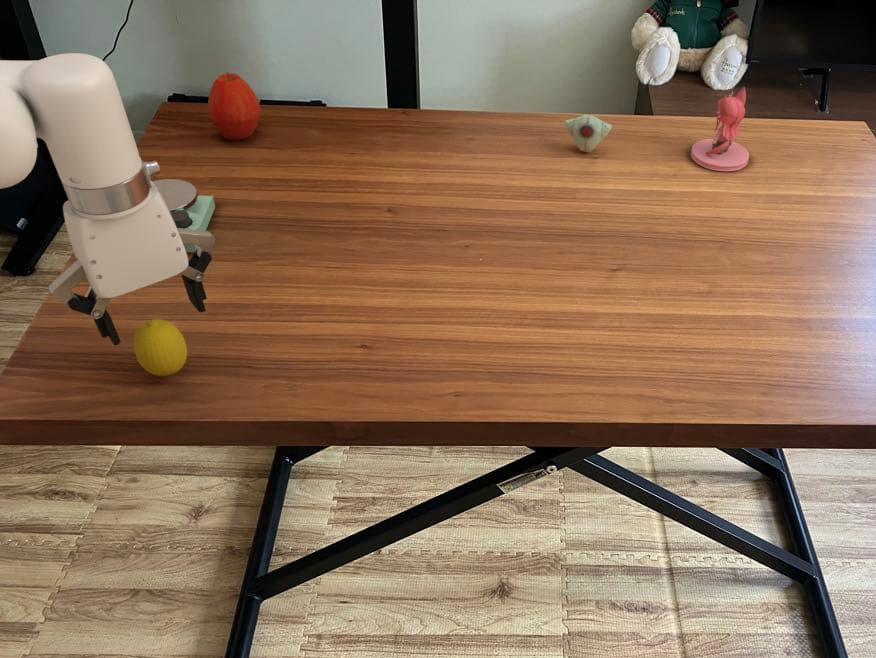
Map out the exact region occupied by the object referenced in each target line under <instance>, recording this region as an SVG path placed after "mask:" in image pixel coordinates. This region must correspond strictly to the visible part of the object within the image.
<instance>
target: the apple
mask: <svg viewBox="0 0 876 658" xmlns="http://www.w3.org/2000/svg"><path fill="white" fill-rule="evenodd" d="M208 95H209V96H208V101H207V110H208V111H207V112H208V117H209V120H210V122H211V123H212V125H213V127H214V128H215V130H217V131H218V133H219V134H220V135H221V136H222V137H223V138H224V139H225V140H229V141H234V142H237V141H242V140H244V139H248V138H249V137H250V136H252V135H253V134H254V132H255V130H256V129H257V128H258V125H259V124H258V123H259V120H260V117H261V105H260V101H259V98H258V96H257V95H256V93H255V92H254V90H253V88H252V87H251V86H250V85H249V83H248V82H247V81H246V80H245V79H243V77H241V76H240V75H238V74H236V73H233V72H226V73H223V74H221V75H219V76H218V77H217V78H216V79H215V80H214V81H213V83H212V85H211V88H210V92H209V94H208Z"/></svg>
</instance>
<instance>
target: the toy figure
mask: <svg viewBox="0 0 876 658" xmlns="http://www.w3.org/2000/svg"><path fill="white" fill-rule="evenodd" d="M733 95H734V91H733V90H731V93H730V94H729V95H728V96H727V94H725V95H724V96H723V97H722V98H721V99H719V100H718V101H717V107H716V108H717V109H716V112H715V114H717V115H716V121H715V123H716V126H715V129H714V132H716V135H715V136H714V138H705V139H701V140H699V141H696V142H695V143H694V144H693V145H692V147H691V152H690V158H691V159H692V161H694V162H695V163H696V164H698V165H700V166H701V167H703V168H706V169H709V170H712V171H718V172H735V171H739V170H741V169H743V168H745V167H746V166H747V165H748V163H749V159H750V153H749V150H747V149H746V148H745V147H744V146H743V145H741V144H740V143H737V142H735V141H734V140H736V138H737V137H738V134H739V132H740V130H741V125H740V123H741V122H742V121H743V119H744V118H745V116H746V115H745V114H746V109H745V104H746V102H747V101H746V100H747V92H746V87H745V86H743V87H742V88H741V89H740V90H739V91H738V93H737V94H736V95H735V96H733ZM720 123H721V126H720V127H719V125H720Z"/></svg>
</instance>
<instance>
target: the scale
mask: <svg viewBox="0 0 876 658" xmlns="http://www.w3.org/2000/svg"><path fill="white" fill-rule="evenodd" d="M215 209H216V203H215V200H214V196H213V195H198V199H197V201H196V203H195V204H194V205H193V206H192V207H190V208H189V209H187V210H185V211H186V212H188V214H189V217H190V221H191V226H189V227H188V228H185V229H192V230H201V231H207V229H208V226H209V224H210V222H211V219H212V217H213V213H214V212H215ZM183 245H184V247H185V250H186V253H195V251H196V250H197V249H198V245H195V244H184V243H183Z"/></svg>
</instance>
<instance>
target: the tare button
mask: <svg viewBox="0 0 876 658" xmlns="http://www.w3.org/2000/svg"><path fill="white" fill-rule="evenodd" d="M170 214H171V216H172V218H173V220H174V223H175V225H176V227H177V228H182V229H185V228H188V227H189V226H191V221H190V217H189V214H188V212H186V211H183V210H177V211H173V212H171V213H170Z"/></svg>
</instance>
